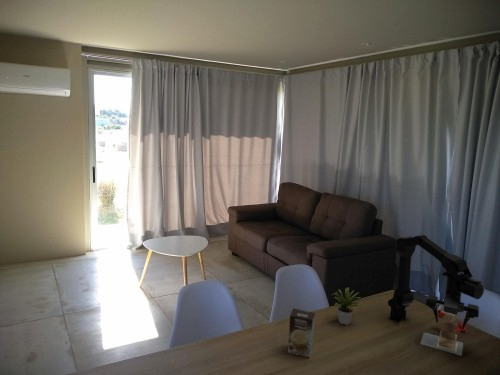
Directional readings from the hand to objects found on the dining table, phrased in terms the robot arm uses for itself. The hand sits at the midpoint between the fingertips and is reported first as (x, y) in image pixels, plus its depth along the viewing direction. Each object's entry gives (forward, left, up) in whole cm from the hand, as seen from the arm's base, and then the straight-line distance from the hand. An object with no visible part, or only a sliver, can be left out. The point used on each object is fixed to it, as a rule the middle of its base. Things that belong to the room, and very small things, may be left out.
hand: (449, 325), depth 155 cm
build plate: (-2, 0, -10) cm, 10 cm away
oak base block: (0, 0, -8) cm, 9 cm away
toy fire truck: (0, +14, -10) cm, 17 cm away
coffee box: (-49, -37, -10) cm, 62 cm away
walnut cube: (0, 0, -4) cm, 5 cm away
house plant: (-42, -5, -10) cm, 44 cm away
